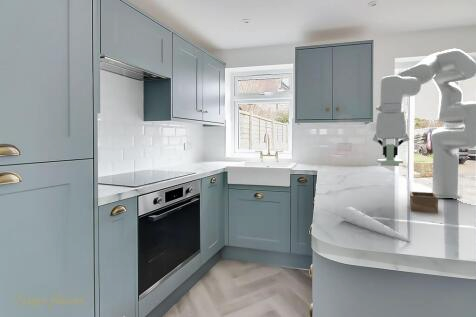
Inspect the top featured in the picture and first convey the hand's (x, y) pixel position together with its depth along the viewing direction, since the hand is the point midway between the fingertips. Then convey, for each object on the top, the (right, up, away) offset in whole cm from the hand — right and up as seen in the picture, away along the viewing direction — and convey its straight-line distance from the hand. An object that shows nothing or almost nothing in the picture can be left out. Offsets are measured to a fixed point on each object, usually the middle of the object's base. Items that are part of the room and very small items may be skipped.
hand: (390, 156), depth 118 cm
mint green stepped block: (0, -3, 0) cm, 3 cm away
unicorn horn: (-20, -21, -31) cm, 42 cm away
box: (+8, -20, -7) cm, 22 cm away
